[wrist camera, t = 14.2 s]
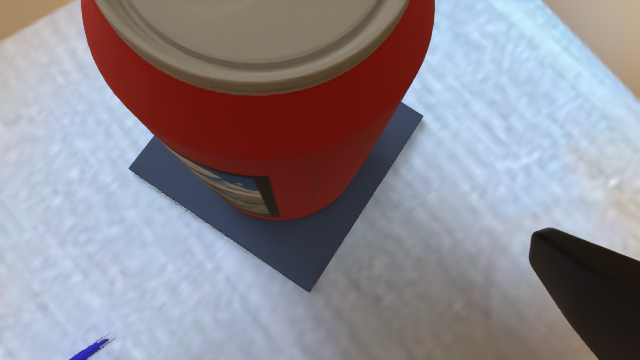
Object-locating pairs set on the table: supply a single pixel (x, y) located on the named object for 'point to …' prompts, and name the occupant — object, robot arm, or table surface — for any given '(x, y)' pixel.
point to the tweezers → (89, 350)
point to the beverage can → (263, 87)
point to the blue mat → (286, 235)
